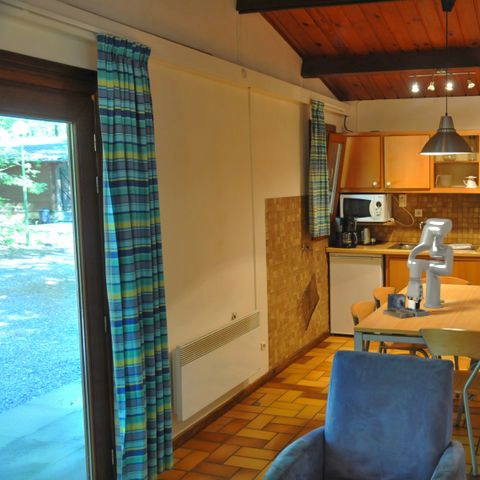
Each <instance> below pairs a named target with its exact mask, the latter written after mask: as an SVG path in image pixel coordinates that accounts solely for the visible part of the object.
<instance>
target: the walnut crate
mask: <svg viewBox="0 0 480 480" xmlns="http://www.w3.org/2000/svg"><path fill="white" fill-rule="evenodd" d="M382 312H383V313H382V315H385V316H388V317H389V316H390V317H393V318H398V319H401V320H402V319H408V318H413V317H414V313H413V312H409V311H405V310H401V309H397V308H394V309H387V308H386V309H383V310H382Z"/></svg>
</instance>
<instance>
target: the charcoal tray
mask: <svg viewBox="0 0 480 480" xmlns="http://www.w3.org/2000/svg"><path fill="white" fill-rule="evenodd" d="M401 310H405V311H409V312H413V313H414V317H415V318H420V317H425V316H426V317H427V316H429V315H430V310H426V309H422V308H419V309H412V308H409V307H405V308H402V309H401Z"/></svg>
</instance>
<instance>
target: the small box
mask: <svg viewBox="0 0 480 480" xmlns="http://www.w3.org/2000/svg"><path fill="white" fill-rule="evenodd" d="M406 298H407V296H406V294H404V293H388V294H387V306H386V310H387V309H394V308H397V309H402V308H406V305H407V304H406V301H407V299H406Z"/></svg>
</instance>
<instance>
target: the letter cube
mask: <svg viewBox="0 0 480 480" xmlns="http://www.w3.org/2000/svg"><path fill="white" fill-rule="evenodd" d="M416 303H417V302H416V298H415V299H414V298H413V300H409V301H408V308H412V309H416Z"/></svg>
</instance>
